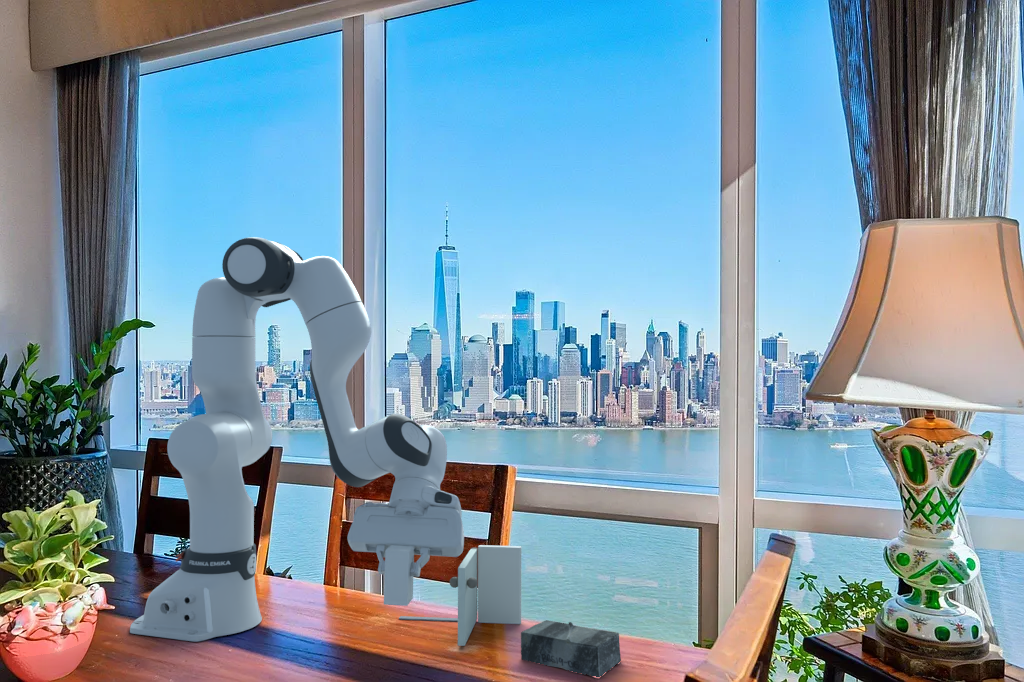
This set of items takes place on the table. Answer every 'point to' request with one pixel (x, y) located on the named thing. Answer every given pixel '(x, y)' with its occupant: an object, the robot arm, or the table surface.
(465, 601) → the door
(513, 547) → the wall
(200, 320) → the robot arm
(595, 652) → the stone block
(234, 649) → the table surface
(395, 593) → the light grey block
